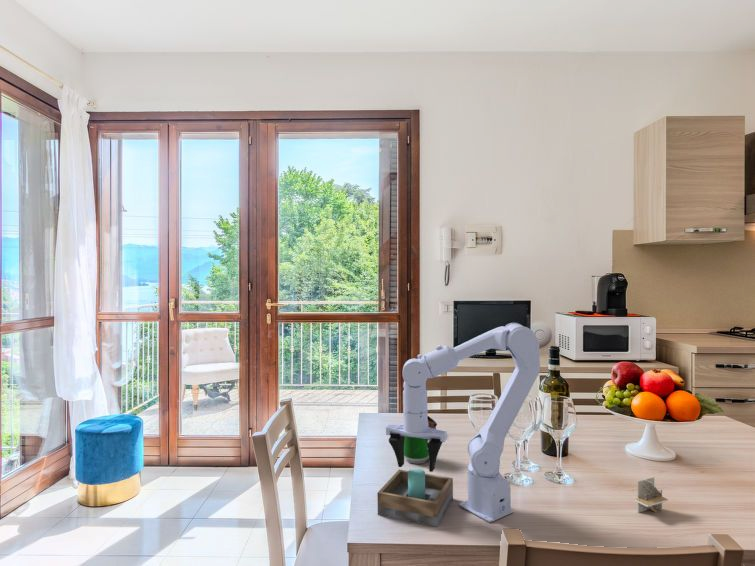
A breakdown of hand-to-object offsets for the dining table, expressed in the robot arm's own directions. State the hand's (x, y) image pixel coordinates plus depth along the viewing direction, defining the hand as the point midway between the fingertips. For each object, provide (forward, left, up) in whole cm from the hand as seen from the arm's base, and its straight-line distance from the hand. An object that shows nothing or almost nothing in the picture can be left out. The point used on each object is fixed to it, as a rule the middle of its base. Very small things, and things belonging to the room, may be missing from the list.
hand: (416, 467), depth 110 cm
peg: (0, 0, -9) cm, 9 cm away
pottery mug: (+38, -33, -9) cm, 51 cm away
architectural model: (-33, -41, -10) cm, 54 cm away
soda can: (+22, -18, -9) cm, 30 cm away
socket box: (0, 0, -9) cm, 9 cm away
